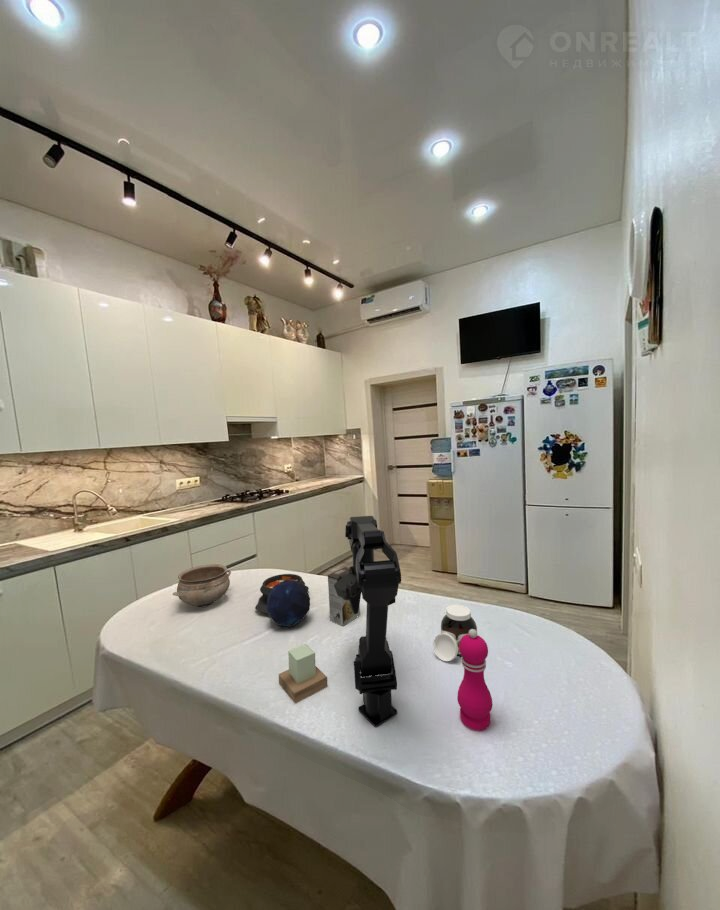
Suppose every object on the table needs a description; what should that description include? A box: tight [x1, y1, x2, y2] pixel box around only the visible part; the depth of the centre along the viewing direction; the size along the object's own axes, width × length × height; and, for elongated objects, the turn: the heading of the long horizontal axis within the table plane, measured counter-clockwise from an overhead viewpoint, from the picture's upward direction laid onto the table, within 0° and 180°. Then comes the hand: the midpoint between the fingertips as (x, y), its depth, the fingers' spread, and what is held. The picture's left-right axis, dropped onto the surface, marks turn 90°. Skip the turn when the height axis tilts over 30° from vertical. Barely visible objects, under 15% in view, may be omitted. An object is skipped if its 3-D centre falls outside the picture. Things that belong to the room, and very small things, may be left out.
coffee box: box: [327, 567, 361, 627], centre depth 123 cm, size 9×6×16 cm
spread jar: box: [432, 604, 478, 662], centre depth 101 cm, size 12×11×12 cm
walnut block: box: [278, 666, 328, 704], centre depth 91 cm, size 9×9×3 cm
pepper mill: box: [456, 629, 493, 732], centre depth 77 cm, size 7×7×20 cm
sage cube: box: [287, 643, 317, 684], centre depth 91 cm, size 5×5×6 cm
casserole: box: [254, 573, 310, 614], centre depth 138 cm, size 25×19×8 cm
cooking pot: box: [172, 563, 232, 608], centre depth 140 cm, size 25×19×12 cm
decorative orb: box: [267, 580, 311, 627], centre depth 122 cm, size 14×15×15 cm
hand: (365, 620), depth 96 cm, fingers open, 9 cm apart
